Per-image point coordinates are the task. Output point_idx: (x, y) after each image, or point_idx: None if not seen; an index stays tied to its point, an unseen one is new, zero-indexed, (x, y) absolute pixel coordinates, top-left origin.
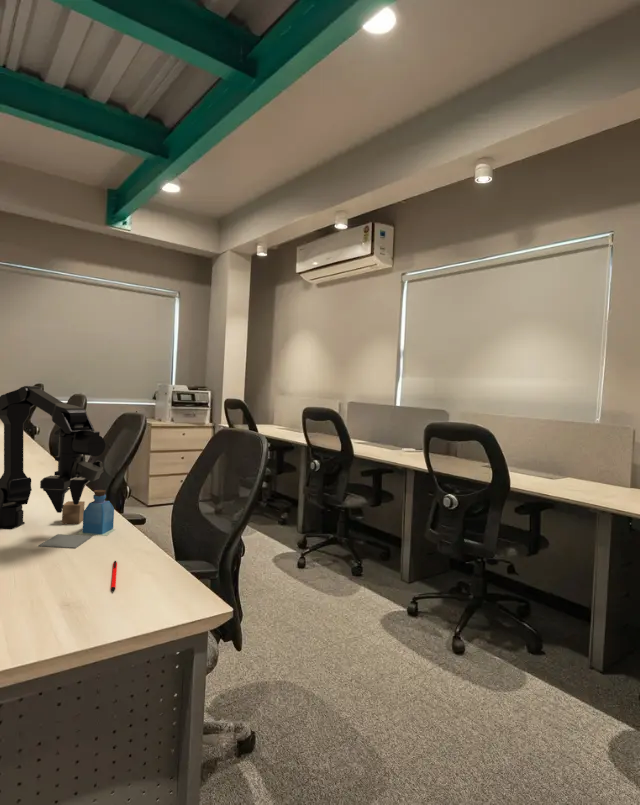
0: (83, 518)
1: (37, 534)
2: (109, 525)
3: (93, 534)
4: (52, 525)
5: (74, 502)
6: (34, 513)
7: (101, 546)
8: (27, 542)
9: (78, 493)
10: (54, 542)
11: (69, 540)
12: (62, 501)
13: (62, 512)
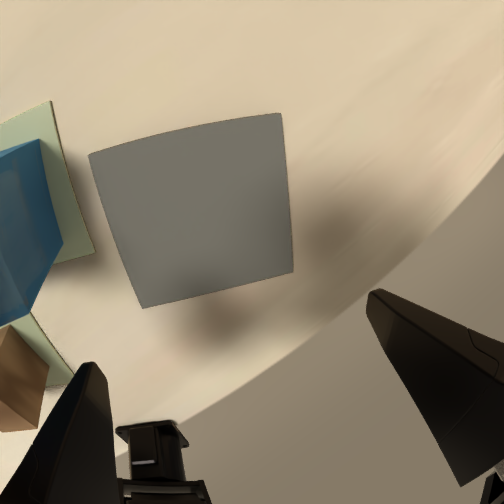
0: (40, 285)
1: (167, 360)
2: None
3: (57, 178)
4: None
5: (104, 390)
6: None
7: (208, 17)
8: (255, 328)
9: (78, 452)
10: (245, 244)
11: (196, 206)
12: (461, 331)
13: (41, 402)
